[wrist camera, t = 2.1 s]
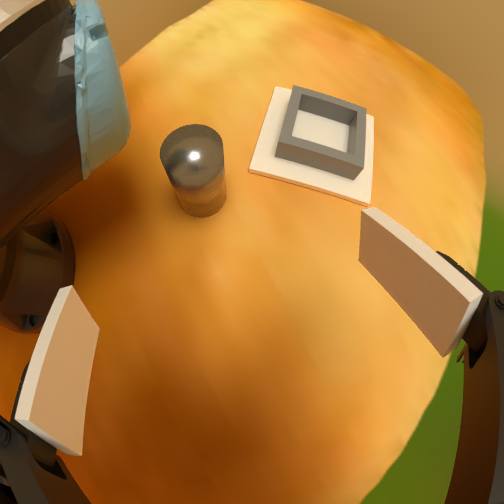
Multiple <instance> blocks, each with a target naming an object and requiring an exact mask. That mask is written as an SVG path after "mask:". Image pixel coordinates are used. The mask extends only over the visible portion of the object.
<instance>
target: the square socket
mask: <svg viewBox="0 0 504 504" xmlns="http://www.w3.org/2000/svg"><path fill="white" fill-rule="evenodd" d="M373 143H374V117H373V116H370V115H368V114H366V108H364V107H361V106H358V105H355V104H353V103H350V102H347V101H344V100H341V99H338V98H335V97H332V96H329V95H326V94H323V93H320V92H316V91H313V90H309V89H306V88H302V87H298V86H295V85H293V89H292V90H290V89H286V88H282V87H277V86H276V87H275V90H274V93H273V96H272V99H271V102H270V105H269V108H268V111H267V114H266V117H265V120H264V123H263V126H262V129H261V132H260V135H259V138H258V142H257V145H256V148H255V151H254V154H253V157H252V161H251V164H250V167H249V172H250V173H254V174H258V175H262V176H266V177H270V178H274V179H278V180H281V181H285V182H289V183H292V184H296V185H299V186H303V187H306V188H310V189H313V190H317V191H320V192H323V193H326V194H330V195H333V196H336V197H339V198H342V199H345V200H349V201H352V202H355V203H358V204H361V205H364V206H368V205H370V198H371V185H372V169H373Z"/></svg>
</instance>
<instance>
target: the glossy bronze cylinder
mask: <svg viewBox="0 0 504 504" xmlns="http://www.w3.org/2000/svg"><path fill="white" fill-rule="evenodd" d="M160 158H161V161H162V164H163V166H164V168H165V171H166V173H167V175H168V177H169V179H170V182H171V184H172V186H173V188H174V190H175V193H176V195H177V197H178V199H179V201H180V204H181V206H182V207H183V209H184V210H185V211H186V212H187V213H188V214H190V215H192V216H195V217H208V216H211V215H213V214H215V213H217V212H218V211H219V210H220V209H221V208H222V206H223V205H224V203H225V200H226V185H225V170H224V154H223V142H222V139H221V137H220V135H219V134H218V133H217V132H216V131H215V130H213V129H212V128H210V127H208V126H205V125H199V124H192V125H186V126H183V127H180V128H178V129H176V130H175V131H173V132H172V133H170V134H169V135H168V136H167V137H166V139H165V140H164V142H163V143H162V146H161V149H160Z"/></svg>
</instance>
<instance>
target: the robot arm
mask: <svg viewBox="0 0 504 504" xmlns="http://www.w3.org/2000/svg"><path fill="white" fill-rule="evenodd" d="M130 130H131V121H130V113H129V108H128V103H127V98H126V94H125V90H124V86H123V82H122V78H121V74H120V70H119V66H118V62H117V59H116V56H115V52H114V49H113V45H112V42H111V40H110V39H109V37H108V31H107V28H106V25H105V19H104V16H103V13H102V10H101V8H100V6H99V4H98V2H97V1H96V0H78V1H76V2H75V5H74V6H72V5H71V3H70V1H69V0H0V324H1V325H3V326H5V327H7V328H8V329H10V330H12V331H15V332H19V333H38V332H41V333H40V336H39V338H38V341H37V344H36V346H35V349H34V352H33V355H32V358H31V359H30V361H29V362H28V364H27V365H26V367H25V369H24V371H23V374H22V377H21V382H20V384H19V388H18V389H19V391H17V395H16V399H15V403H14V407H13V411H12V415H11V420H10V423H9V422H8V421H7V420H6V419H4V418H3V417H2V416H1V415H0V477H2V478H4V479H6V480H8V482H9V486H6V485H4V484H2V483H0V504H91V502H90V501H89V500H88V498H87V497H86V496H85V494H84V493H83V492H82V490H81V489H80V487H79V486H78V484H77V483H76V481H75V480H74V478H73V477H72V475H71V474H70V472H69V470H68V469H67V467H66V466H65V464H64V462H63V461H62V459H61V458H60V457H59V456H58V455H56V449H58V450H60V451H61V452H63V453H65V454H67V455H76V456H82V446H83V431H84V420H85V411H86V403H87V395H88V388H89V382H90V375H91V370H92V364H93V359H94V353H95V348H96V344H97V339H98V334H99V330H100V329H99V327H98V326H97V324H96V323H95V321H94V320H93V318H92V317H91V315H90V313H89V312H88V310H87V309H86V307H85V306H84V304H83V302H82V301H81V299H80V297H79V296H78V294H77V292H76V291H75V289H74V287H73V280H74V271H75V259H74V250H73V245H72V241H71V238H70V235H69V233H68V231H67V229H66V227H65V226H64V224H63V223H62V222H61V221H60V220H59V219H58V218H57V217H55V216H54V215H52V214H51V213H49V212H48V211H46V210H44V208H45V207H46V206H48V205H49V204H50V203H51V202H53V201H54V200H55V199H56V198H58V197H59V196H60V195H61V194H63V193H64V192H65V191H67V190H68V189H69V188H71V187H72V186H73V185H75V184H76V183H77V182H79V181H80V180H83V181H85V180H86V179H87V178H88V177H89V175H90V173H91V172H92V171H93V170H95V169H96V168H97V167H99V166H100V165H102V164H103V163H104V162H106V161H107V160H108V159H110V158H111V157H113V156H114V155H116V154H117V153H118V152H119V151H120V150H121V149H122V148H123V147H124V146H125V144H126V142H127V140H128V137H129V134H130ZM359 262H360V263H361V264H362V265H363V266H364V267H365V268H366V269H367V270H368V271H369V272H370V273H371V274H372V275H373V276H374V278H375V279H376V280H377V281H378V282H379V283H380V284H381V285H382V286H383V287H384V289H385V290H386V291H387V292H388V293H389V294H390V295H391V296H392V297H393V299H394V300H395V301H396V302H397V303H398V304H399V305H400V307H401V308H402V309H403V310H404V311H405V312H406V313H407V315H408V316H409V317H410V318H411V319H412V321H413V322H414V323H415V324H416V325H417V326H418V328H419V329H420V330H421V331H422V332H423V334H424V335H425V336H426V337H427V339H428V340H429V341H430V342H431V343H432V345H433V346H434V347H435V348H436V350H437V351H438V352H439V354H440V355H441V356H442V357H445V356H446V355H448V354H449V353H451V352H452V351H454V350H455V349H456V348H457V346H458V345H459V343H460V341H461V339H462V338H463V340H464V341H465V342H466V343H465V345H464V347H463V349H462V350H461V352H460V354H459V356H458V357H457V361H456V362H459V361H460V359H461V358H462V356H463V355H464V360H463V361H462V363H464V388H463V405H462V417H461V426H460V435H459V441H458V448H457V453H456V459H455V464H454V469H453V474H452V478H451V482H450V486H449V490H448V493H447V497H446V500H445V504H504V292H503V291H494V292H492V293H491V292H489V291H488V290H487V289H486V288H485V287H484V286H483V285H482V284H481V283H480V282H478V281H477V280H476V279H475V278H474V277H473V276H472V275H471V274H469V273H468V272H467V271H465V270H464V268H462V267H461V266H460V265H458V263H456V262H455V261H454V260H453V259H452V258H450V257H449V256H447V255H445V254H443V253H441V252H439V251H436V252H435V251H434V250H433V249H431V248H430V247H429V246H427V245H426V244H425V243H424V242H422V241H421V240H420V239H418V238H417V237H416V236H415V235H413V234H412V233H411V232H409V231H408V230H407V229H405V228H404V227H403V226H401V225H400V224H398V223H397V222H396V221H394V220H393V219H391V218H390V217H389V216H387V215H386V214H384V213H383V212H381V211H380V210H379V209H377V208H376V207H372V208H367V209H363V210H361V229H360V248H359Z"/></svg>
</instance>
